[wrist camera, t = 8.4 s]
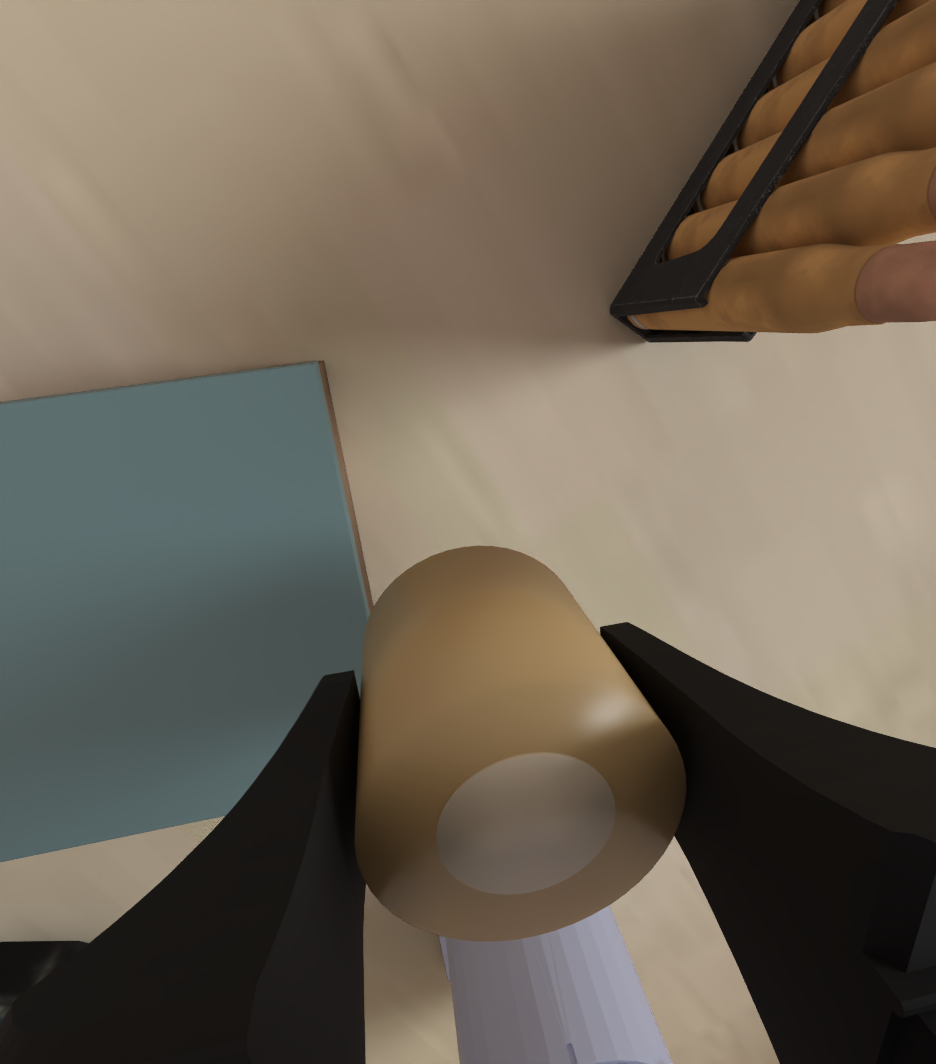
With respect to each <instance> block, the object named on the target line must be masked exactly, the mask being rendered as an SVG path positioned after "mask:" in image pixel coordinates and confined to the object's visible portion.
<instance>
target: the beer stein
mask: <svg viewBox="0 0 936 1064" xmlns="http://www.w3.org/2000/svg"><path fill="white" fill-rule="evenodd" d="M88 944H89V943H85V942H81V941H34V942H0V1023H1V1022H2V1020H3V1018H4V1017H5V1015H6V1013H7V1011H8V1010H9V1008H10V1006H11V1005H12V1003H13V1001H14V1000H15V999H17V998H18V997H19V996H21V995H22V994H23V993H25V992H26V991H28V990H29V989H30V988H32V987H33V986H34V985H36V984H37V983H38V982H40V981H41V980H42V979H43V978H45V977H46V976H47V975H49V974H50V973H51V972H53V971H54V970H55V969H56V968H58V967H59V966H60V965H62V964H63V963H64V962H66V961H67V960H68V959H69V958H71V957H72V956H73V955H75V954H76V953H77V952H79V951H80V950H81V949H82V948H84V947H85V946H86V945H88Z"/></svg>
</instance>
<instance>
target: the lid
mask: <svg viewBox="0 0 936 1064" xmlns="http://www.w3.org/2000/svg"><path fill="white" fill-rule="evenodd" d="M369 616H370V612H369V607H368V602H367V597H366V592H365V588H364V583H363V578H362V573H361V568H360V563H359V558H358V553H357V549H356V544H355V539H354V534H353V529H352V524H351V519H350V515H349V510H348V505H347V500H346V495H345V490H344V485H343V480H342V476H341V471H340V466H339V461H338V456H337V451H336V446H335V441H334V437H333V432H332V427H331V422H330V417H329V412H328V407H327V403H326V398H325V393H324V388H323V383H322V378H321V373H320V368H319V364H318V361H315V362H307V363H299V364H292V365H284V366H276V367H268V368H261V369H253V370H245V371H238V372H230V373H222V374H214V375H207V376H199V377H191V378H184V379H176V380H168V381H160V382H153V383H145V384H137V385H130V386H122V387H114V388H106V389H99V390H91V391H83V392H76V393H68V394H60V395H52V396H45V397H37V398H29V399H22V400H14V401H6V402H0V862H4V861H9V860H14V859H18V858H23V857H28V856H33V855H38V854H43V853H47V852H52V851H57V850H62V849H67V848H72V847H76V846H81V845H86V844H91V843H96V842H100V841H105V840H110V839H115V838H120V837H125V836H129V835H134V834H139V833H144V832H149V831H154V830H158V829H163V828H168V827H173V826H178V825H183V824H187V823H192V822H197V821H202V820H207V819H211V818H216V817H221V816H226V815H227V814H228V813H229V812H230V810H231V809H232V808H233V807H234V806H235V804H236V803H237V802H238V801H239V800H240V798H241V797H242V796H243V795H244V793H245V792H246V791H247V790H248V788H249V787H250V786H251V785H252V783H253V782H254V781H255V779H256V778H257V777H258V775H259V774H260V772H261V771H262V770H263V768H264V767H265V766H266V764H267V763H268V762H269V760H270V759H271V758H272V756H273V755H274V753H275V752H276V751H277V749H278V748H279V746H280V745H281V743H282V742H283V740H284V739H285V737H286V735H287V734H288V732H289V731H290V729H291V728H292V726H293V725H294V723H295V722H296V720H297V719H298V717H299V715H300V714H301V712H302V710H303V709H304V707H305V705H306V704H307V702H308V700H309V699H310V697H311V695H312V693H313V692H314V690H315V688H316V687H317V685H318V683H319V681H320V680H321V679H322V677H323V676H324V675H329V674H334V673H340V672H346V671H351V670H354V673H355V677H356V682H357V687H358V691H359V696H360V691H361V666H362V642H363V636H364V631H365V627H366V624H367V621H368V618H369Z"/></svg>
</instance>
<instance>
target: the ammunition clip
mask: <svg viewBox="0 0 936 1064" xmlns="http://www.w3.org/2000/svg"><path fill="white" fill-rule="evenodd" d="M934 232H936V0H800V1H799V3H798V5H797V6H796V8H795V9H794V11H793V13H792V14H791V16H790V17H789V19H788V21H787V22H786V24H785V26H784V27H783V29H782V30H781V32H780V34H779V35H778V37H777V38H776V40H775V42H774V43H773V45H772V46H771V48H770V50H769V51H768V53H767V55H766V56H765V58H764V59H763V61H762V63H761V64H760V66H759V67H758V69H757V71H756V72H755V74H754V75H753V77H752V79H751V80H750V82H749V83H748V85H747V87H746V88H745V90H744V92H743V93H742V95H741V96H740V98H739V100H738V101H737V103H736V104H735V106H734V108H733V109H732V111H731V112H730V114H729V116H728V117H727V119H726V121H725V122H724V124H723V125H722V127H721V129H720V130H719V132H718V133H717V135H716V137H715V138H714V140H713V141H712V143H711V145H710V146H709V148H708V150H707V151H706V153H705V154H704V156H703V158H702V159H701V161H700V162H699V164H698V166H697V167H696V169H695V170H694V172H693V174H692V175H691V177H690V178H689V180H688V182H687V183H686V185H685V187H684V188H683V190H682V191H681V193H680V195H679V196H678V198H677V199H676V201H675V203H674V204H673V206H672V207H671V209H670V211H669V212H668V214H667V216H666V217H665V219H664V220H663V222H662V224H661V225H660V227H659V228H658V230H657V232H656V233H655V235H654V236H653V238H652V240H651V241H650V243H649V245H648V246H647V248H646V249H645V251H644V253H643V254H642V256H641V257H640V259H639V261H638V262H637V264H636V265H635V267H634V269H633V270H632V272H631V274H630V275H629V277H628V278H627V280H626V282H625V283H624V285H623V286H622V288H621V290H620V291H619V293H618V294H617V296H616V298H615V299H614V301H613V302H612V304H611V306H610V314H611V315H613V316H614V317H615V318H617V319H618V320H620V321H621V322H622V323H624V324H625V325H626V326H628V327H629V328H631V329H632V330H633V331H635V332H636V333H637V334H639V335H640V336H642V337H643V338H644V339H646V340H647V341H648V342H711V341H735V342H749V341H750V340H751V339H752V338H753V337H754V335H755V334H756V333H757V332H779V333H820V332H825V331H829V330H833V329H837V328H841V327H846V326H856V325H878V324H884V323H887V322H927V321H936V241H928V242H919V243H911V244H896V243H899V242H902V241H904V240H907V239H909V238H912V237H915V236H920V235H924V234H929V233H934Z"/></svg>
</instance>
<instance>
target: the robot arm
mask: <svg viewBox="0 0 936 1064" xmlns="http://www.w3.org/2000/svg"><path fill="white" fill-rule="evenodd" d="M600 635H601V637H602V638H603V639H604V641H605V642H606V644H607V645H608V646H609V648H610V649H611V651H612V652H613V654H614V655H615V656H616V658H617V659H618V661H619V662H620V663H621V665H622V666H623V668H624V669H625V670H626V672H627V673H628V675H629V676H630V678H631V679H632V680H633V682H634V683H635V685H636V686H637V687H638V689H639V690H640V692H641V693H642V694H643V696H644V697H645V699H646V700H647V702H648V703H649V704H650V706H651V707H652V709H653V710H654V711H655V713H656V714H657V716H658V717H659V718H660V720H661V721H662V723H663V724H664V725H665V727H666V728H667V730H668V731H669V733H670V734H671V736H672V738H673V739H674V741H675V742H676V744H677V746H678V749H679V751H680V754H681V756H682V759H683V763H684V768H685V773H686V797H685V804H684V809H683V813H682V816H681V820H680V823H679V825H678V828H677V830H676V832H675V834H674V836H675V838H676V840H677V841H678V843H679V845H680V847H681V849H682V850H683V852H684V854H685V856H686V858H687V859H688V861H689V863H690V865H691V867H692V870H693V872H694V874H695V876H696V878H697V880H698V882H699V884H700V886H701V888H702V890H703V892H704V894H705V896H706V898H707V900H708V903H709V905H710V907H711V909H712V911H713V913H714V915H715V917H716V919H717V922H718V924H719V926H720V928H721V930H722V932H723V935H724V937H725V939H726V941H727V943H728V945H729V948H730V950H731V952H732V954H733V956H734V958H735V961H736V963H737V965H738V967H739V969H740V972H741V974H742V976H743V979H744V981H745V983H746V985H747V988H748V990H749V992H750V995H751V997H752V999H753V1002H754V1004H755V1006H756V1008H757V1011H758V1013H759V1015H760V1018H761V1020H762V1022H763V1024H764V1027H765V1029H766V1031H767V1034H768V1036H769V1038H770V1041H771V1043H772V1045H773V1048H774V1050H775V1053H776V1055H777V1058H778V1060H779V1062H780V1064H936V748H933V747H929V746H925V745H921V744H917V743H913V742H909V741H905V740H901V739H898V738H894V737H890V736H887V735H883V734H880V733H876V732H873V731H869V730H866V729H863V728H860V727H857V726H854V725H850V724H847V723H844V722H841V721H838V720H835V719H832V718H829V717H826V716H823V715H820V714H817V713H814V712H812V711H809V710H806V709H804V708H801V707H799V706H796V705H794V704H791V703H788V702H786V701H783V700H781V699H778V698H776V697H773V696H771V695H769V694H766V693H764V692H762V691H759V690H757V689H755V688H753V687H751V686H748V685H746V684H744V683H742V682H740V681H738V680H736V679H734V678H731V677H729V676H727V675H725V674H723V673H721V672H719V671H717V670H715V669H713V668H711V667H709V666H708V665H706V664H704V663H702V662H700V661H698V660H696V659H694V658H692V657H691V656H689V655H687V654H685V653H683V652H681V651H680V650H678V649H676V648H674V647H672V646H671V645H669V644H667V643H665V642H664V641H662V640H660V639H658V638H656V637H655V636H653V635H651V634H649V633H647V632H646V631H644V630H642V629H640V628H638V627H636V626H634V625H632V624H630V623H628V622H625V623H619V624H614V625H608V626H602V627H600ZM359 715H360V696H359V691H358V687H357V682H356V677H355V673H354V670H351V671H346V672H340V673H334V674H329V675H324V676H323V677H322V679H321V680H320V681H319V683H318V685H317V687H316V688H315V690H314V692H313V693H312V695H311V697H310V699H309V700H308V702H307V704H306V705H305V707H304V709H303V710H302V712H301V714H300V715H299V717H298V719H297V720H296V722H295V723H294V725H293V726H292V728H291V729H290V731H289V732H288V734H287V735H286V737H285V739H284V740H283V742H282V743H281V745H280V746H279V748H278V749H277V751H276V752H275V753H274V755H273V756H272V758H271V759H270V760H269V762H268V763H267V764H266V766H265V767H264V768H263V770H262V771H261V772H260V774H259V775H258V777H257V778H256V779H255V781H254V782H253V783H252V785H251V786H250V787H249V788H248V790H247V791H246V792H245V793H244V795H243V796H242V797H241V798H240V800H239V801H238V802H237V803H236V804H235V806H234V807H233V808H232V809H231V810H230V812H229V813H228V814H227V815H226V816H225V817H224V818H223V820H222V821H221V822H220V823H219V824H218V825H217V826H216V827H215V828H214V830H213V831H212V832H211V833H210V834H209V835H208V836H207V837H206V838H205V839H204V840H203V841H202V842H201V843H200V844H199V845H198V846H197V847H196V848H195V849H194V850H193V851H192V852H191V853H190V854H189V855H188V856H187V857H186V858H185V859H184V860H183V861H182V862H181V863H180V864H179V865H178V866H177V867H176V868H175V869H174V870H173V871H172V872H171V873H170V874H169V875H168V876H167V877H166V878H164V879H163V880H162V881H161V882H160V883H159V884H158V885H157V886H156V887H155V888H153V889H152V890H151V891H150V892H149V893H148V894H147V895H146V896H145V897H143V898H142V899H141V900H140V901H139V902H138V903H137V904H136V905H134V906H133V907H132V908H131V909H130V910H129V911H127V912H126V913H125V914H124V915H123V916H122V917H120V918H119V919H118V920H117V921H116V922H115V923H113V924H112V925H111V926H110V927H109V928H107V929H106V930H105V931H104V932H102V933H101V934H100V935H99V936H98V937H96V938H95V939H94V940H93V941H91V942H90V943H89V944H88V945H86V946H85V947H84V948H82V949H81V950H80V951H79V952H77V953H76V954H75V955H73V956H72V957H71V958H69V959H68V960H67V961H66V962H64V963H63V964H62V965H60V966H59V967H58V968H56V969H55V970H54V971H53V972H51V973H50V974H49V975H47V976H46V977H45V978H43V979H42V980H41V981H40V982H38V983H37V984H36V985H34V986H33V987H32V988H30V989H29V990H28V991H26V992H25V993H23V994H22V995H21V996H19V997H18V998H17V999H15V1000H14V1001H13V1003H12V1005H11V1006H10V1008H9V1010H8V1011H7V1013H6V1015H5V1017H4V1018H3V1020H2V1022H1V1023H0V1064H366V1062H365V1019H364V964H363V922H364V901H365V888H366V882H365V880H364V878H363V876H362V874H361V871H360V868H359V865H358V862H357V857H356V851H355V815H356V790H357V765H358V740H359ZM439 939H440V944H441V949H442V953H443V958H444V963H445V968H446V973H447V978H448V980H449V981H450V982H451V990H452V999H453V1007H454V1016H455V1025H456V1034H457V1043H458V1052H459V1060H460V1064H673V1062H672V1060H671V1057H670V1055H669V1052H668V1050H667V1047H666V1045H665V1042H664V1040H663V1037H662V1035H661V1032H660V1030H659V1027H658V1025H657V1022H656V1020H655V1017H654V1015H653V1012H652V1010H651V1007H650V1005H649V1002H648V1000H647V997H646V995H645V992H644V990H643V987H642V985H641V982H640V980H639V977H638V975H637V972H636V970H635V967H634V965H633V962H632V960H631V957H630V955H629V952H628V950H627V947H626V945H625V942H624V940H623V937H622V935H621V932H620V930H619V927H618V925H617V922H616V920H615V917H614V915H613V912H612V910H611V907H610V905H609V906H607V907H605V908H604V909H602V910H600V911H598V912H597V913H595V914H593V915H591V916H589V917H587V918H585V919H583V920H581V921H579V922H577V923H574V924H572V925H569V926H566V927H564V928H561V929H558V930H556V931H552V932H549V933H545V934H541V935H538V936H533V937H528V938H523V939H517V940H507V941H490V942H478V941H466V940H458V939H453V938H447V937H442V936H439Z"/></svg>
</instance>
